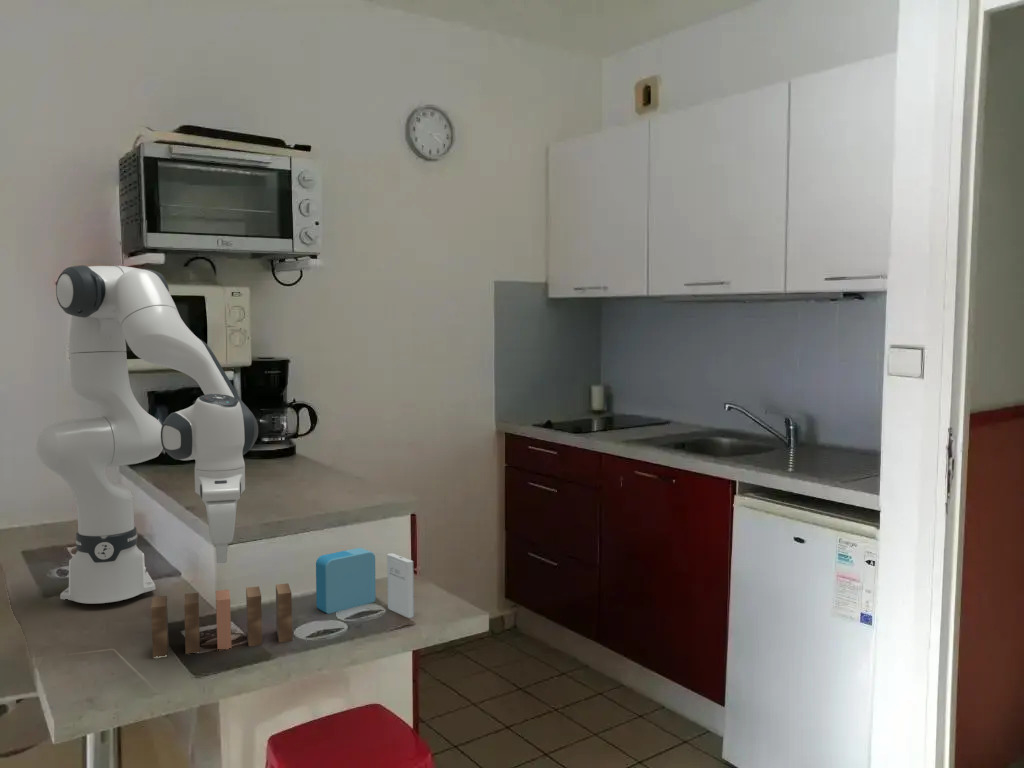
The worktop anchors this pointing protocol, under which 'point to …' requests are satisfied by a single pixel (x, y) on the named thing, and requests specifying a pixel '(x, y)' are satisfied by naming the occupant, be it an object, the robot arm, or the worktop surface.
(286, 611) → the domino
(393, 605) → the hard drive
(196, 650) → the domino
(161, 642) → the domino
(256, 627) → the domino
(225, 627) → the domino
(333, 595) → the blue rounded box
